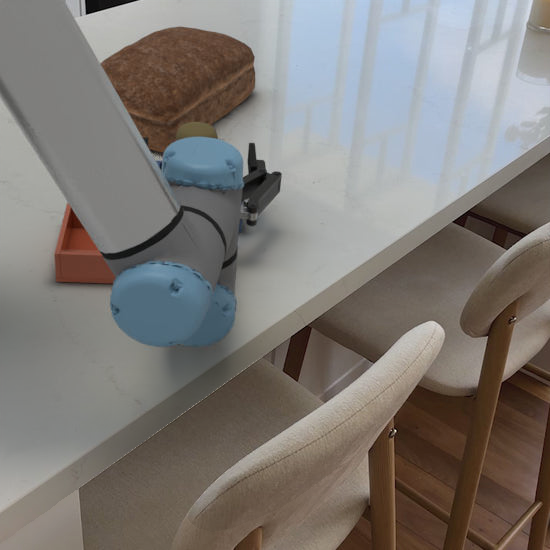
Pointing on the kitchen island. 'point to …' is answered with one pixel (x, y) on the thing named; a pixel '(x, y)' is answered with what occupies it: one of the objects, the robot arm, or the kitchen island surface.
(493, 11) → the kitchen island surface
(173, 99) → the bread
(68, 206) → the terracotta bin
